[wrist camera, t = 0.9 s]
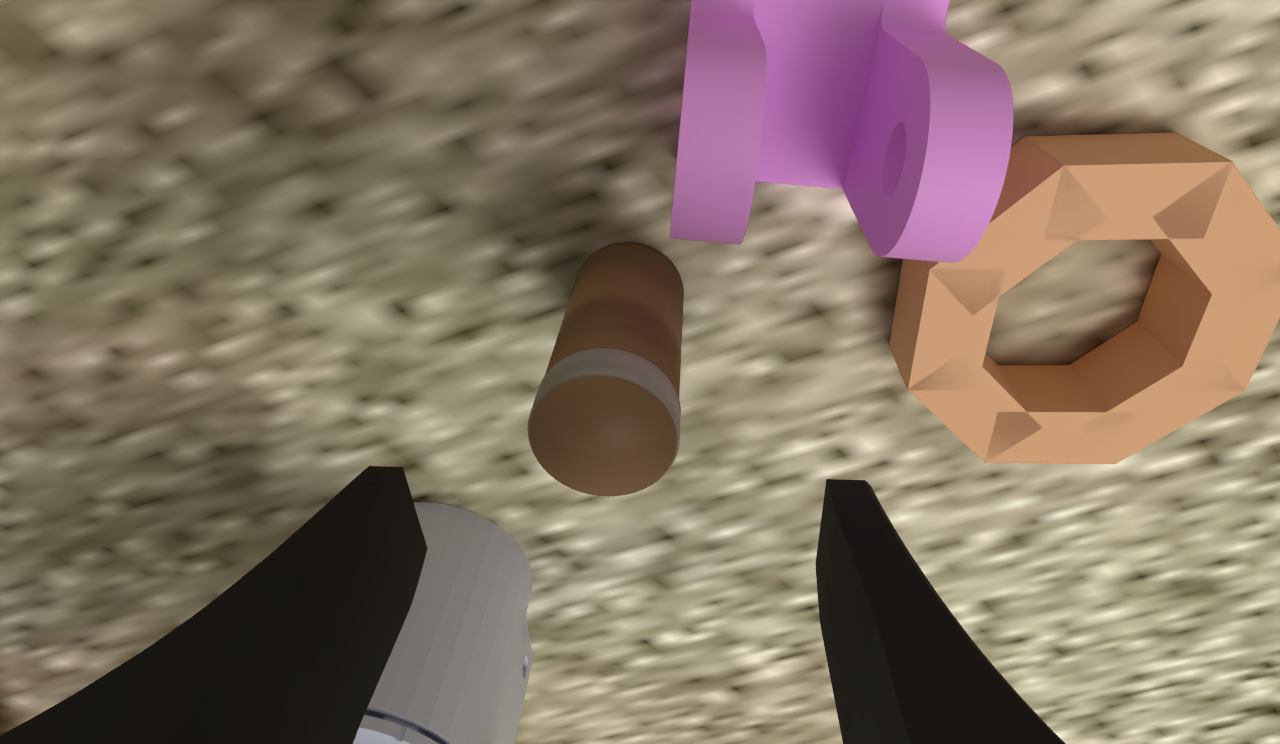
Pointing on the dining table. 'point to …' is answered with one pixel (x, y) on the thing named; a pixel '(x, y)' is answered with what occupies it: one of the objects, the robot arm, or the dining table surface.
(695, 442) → the dining table surface
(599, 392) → the peg
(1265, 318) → the orange flat ring
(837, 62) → the bracket
